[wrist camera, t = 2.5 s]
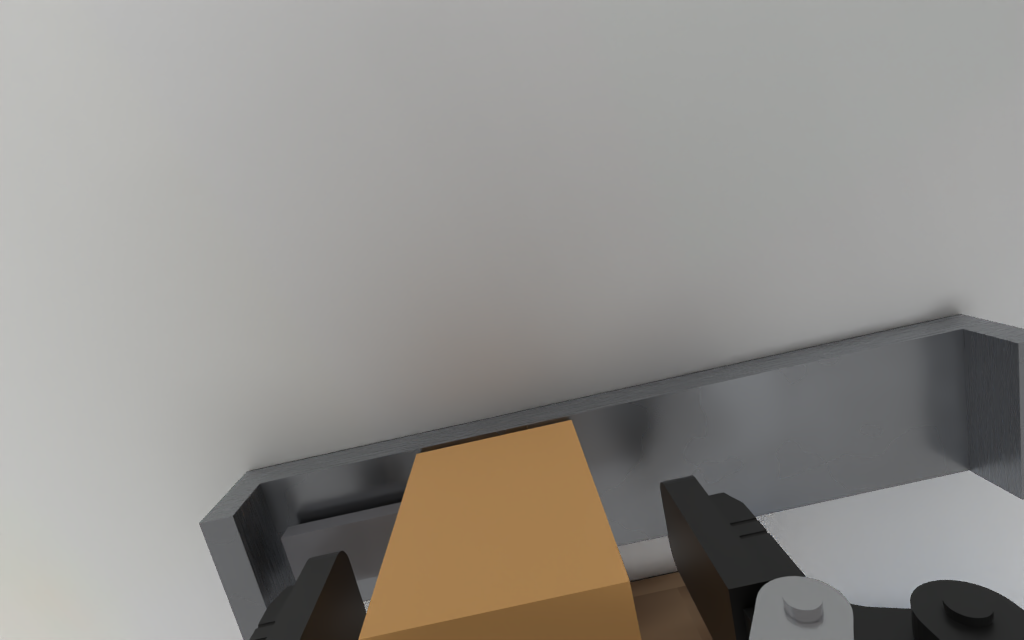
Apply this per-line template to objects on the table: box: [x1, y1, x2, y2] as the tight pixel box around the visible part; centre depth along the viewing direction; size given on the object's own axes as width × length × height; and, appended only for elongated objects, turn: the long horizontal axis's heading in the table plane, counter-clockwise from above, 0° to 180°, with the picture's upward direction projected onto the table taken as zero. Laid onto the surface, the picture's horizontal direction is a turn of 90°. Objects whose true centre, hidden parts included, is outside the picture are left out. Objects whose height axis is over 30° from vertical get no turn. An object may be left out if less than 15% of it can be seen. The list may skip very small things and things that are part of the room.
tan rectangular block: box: [281, 420, 641, 640], centre depth 11 cm, size 8×4×6 cm, turn 102°
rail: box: [199, 314, 1024, 640], centre depth 14 cm, size 20×4×2 cm, turn 102°
